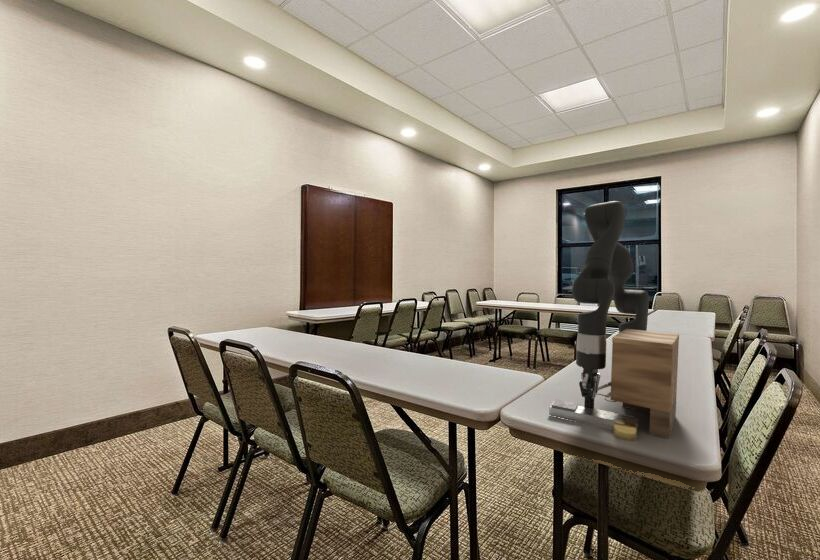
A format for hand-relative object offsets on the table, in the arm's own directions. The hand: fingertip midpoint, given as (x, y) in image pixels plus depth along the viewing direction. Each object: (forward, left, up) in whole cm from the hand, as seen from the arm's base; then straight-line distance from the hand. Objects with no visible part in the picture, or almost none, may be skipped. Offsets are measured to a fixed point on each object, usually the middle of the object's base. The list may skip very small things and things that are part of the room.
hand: (589, 410), depth 108 cm
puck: (+9, +11, -1) cm, 14 cm away
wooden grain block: (-5, +13, -1) cm, 14 cm away
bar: (+4, +2, -2) cm, 5 cm away
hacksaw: (-28, +1, -2) cm, 29 cm away
